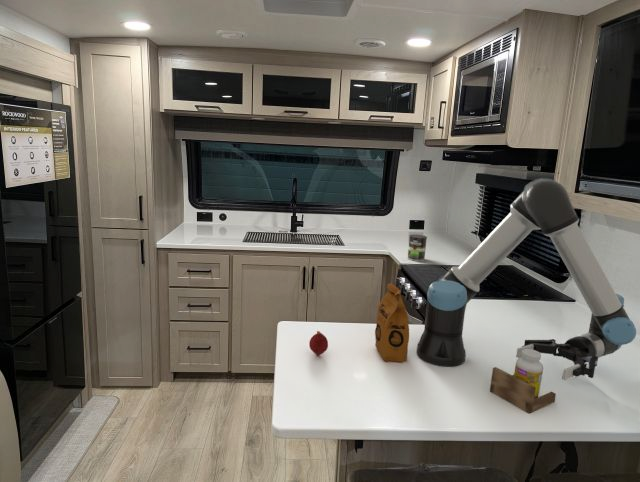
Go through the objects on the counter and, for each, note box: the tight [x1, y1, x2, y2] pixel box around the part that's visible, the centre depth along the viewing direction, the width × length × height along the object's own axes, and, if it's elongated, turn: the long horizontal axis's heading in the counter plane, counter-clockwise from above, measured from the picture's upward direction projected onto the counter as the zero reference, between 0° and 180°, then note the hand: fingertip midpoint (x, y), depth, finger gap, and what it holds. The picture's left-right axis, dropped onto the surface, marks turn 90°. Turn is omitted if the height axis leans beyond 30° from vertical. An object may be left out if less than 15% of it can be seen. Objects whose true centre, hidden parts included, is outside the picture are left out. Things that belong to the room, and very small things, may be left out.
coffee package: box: [374, 282, 410, 363], centre depth 141 cm, size 10×12×22 cm
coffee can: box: [407, 234, 428, 262], centre depth 270 cm, size 10×10×14 cm
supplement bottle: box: [513, 349, 544, 399], centre depth 121 cm, size 7×7×13 cm
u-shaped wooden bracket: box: [489, 366, 557, 414], centre depth 121 cm, size 12×11×7 cm
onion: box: [308, 330, 329, 356], centre depth 140 cm, size 6×6×8 cm
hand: (539, 363), depth 123 cm, fingers open, 13 cm apart
